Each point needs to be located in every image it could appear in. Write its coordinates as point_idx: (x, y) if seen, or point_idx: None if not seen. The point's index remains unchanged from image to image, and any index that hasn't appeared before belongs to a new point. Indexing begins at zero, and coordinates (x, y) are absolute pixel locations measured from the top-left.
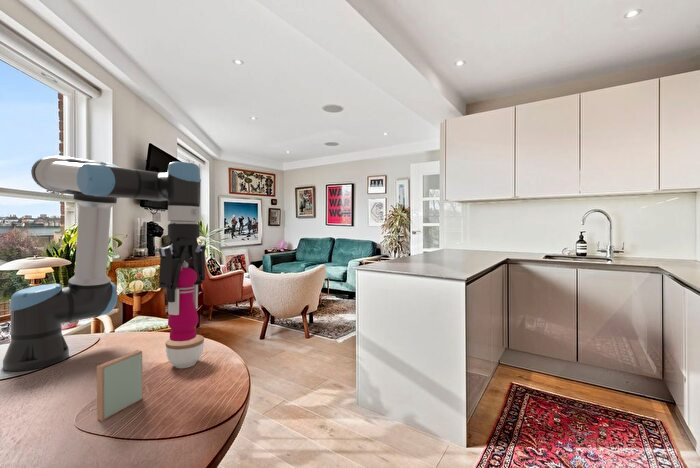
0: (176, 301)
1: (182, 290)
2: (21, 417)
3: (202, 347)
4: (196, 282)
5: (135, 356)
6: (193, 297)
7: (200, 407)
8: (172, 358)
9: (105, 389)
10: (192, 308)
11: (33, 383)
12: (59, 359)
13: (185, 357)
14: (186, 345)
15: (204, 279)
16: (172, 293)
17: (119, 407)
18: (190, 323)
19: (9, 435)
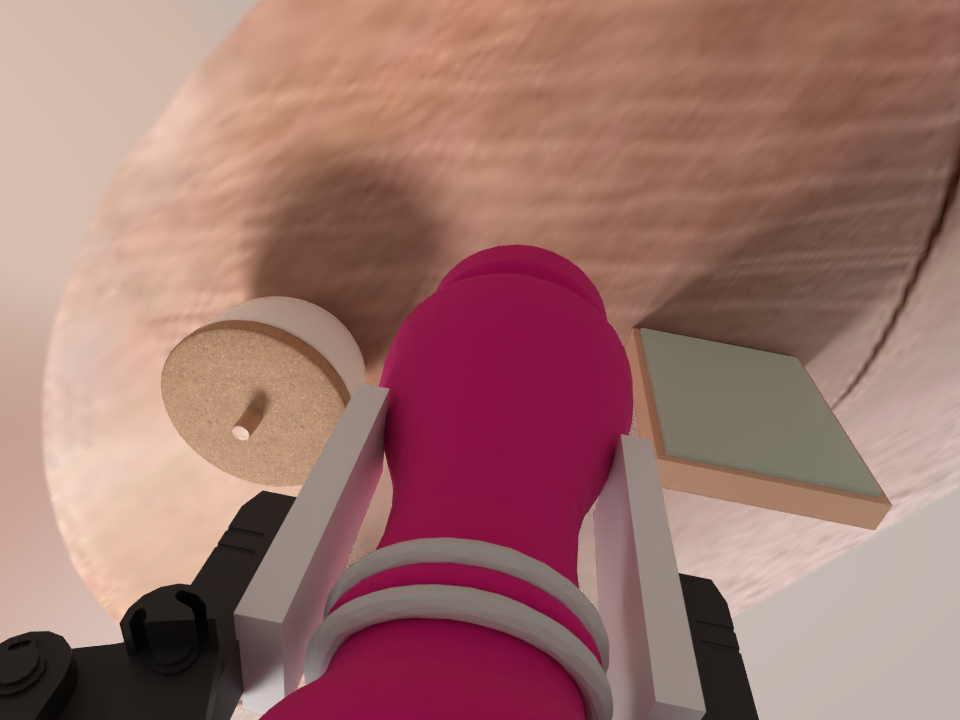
0: (672, 555)
1: (591, 649)
2: (757, 573)
3: (236, 310)
4: (219, 666)
5: (704, 454)
6: (347, 501)
7: (707, 6)
8: None
9: (834, 422)
10: (492, 387)
11: None
12: None
13: (342, 339)
14: (320, 367)
15: (13, 644)
16: (725, 686)
17: (741, 352)
18: (572, 300)
19: (859, 537)
